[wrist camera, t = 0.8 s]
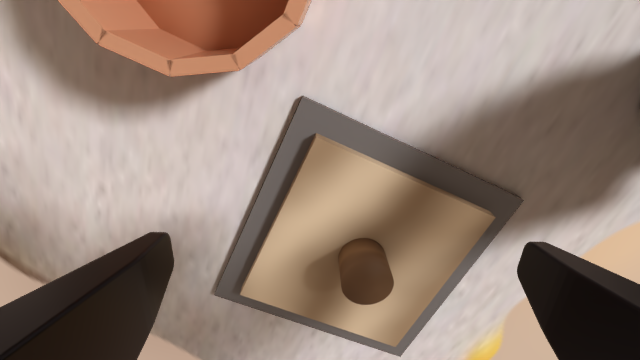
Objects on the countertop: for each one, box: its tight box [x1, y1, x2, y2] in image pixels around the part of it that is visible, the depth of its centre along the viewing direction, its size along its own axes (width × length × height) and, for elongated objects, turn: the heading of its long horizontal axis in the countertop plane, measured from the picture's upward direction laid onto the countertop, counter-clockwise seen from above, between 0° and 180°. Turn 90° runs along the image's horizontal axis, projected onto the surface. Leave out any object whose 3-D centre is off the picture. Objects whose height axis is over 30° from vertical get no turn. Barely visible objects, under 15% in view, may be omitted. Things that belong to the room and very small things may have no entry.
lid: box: [240, 133, 496, 347], centre depth 21 cm, size 12×12×3 cm
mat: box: [214, 96, 524, 356], centre depth 23 cm, size 15×15×1 cm
